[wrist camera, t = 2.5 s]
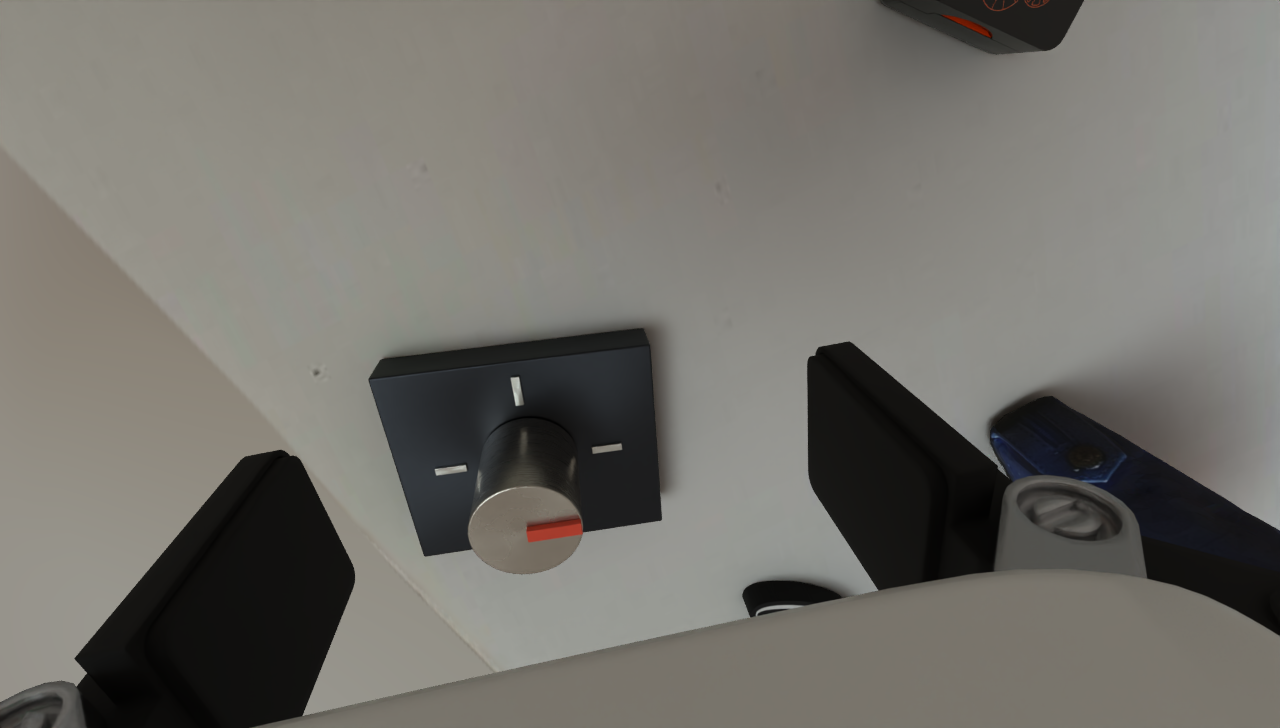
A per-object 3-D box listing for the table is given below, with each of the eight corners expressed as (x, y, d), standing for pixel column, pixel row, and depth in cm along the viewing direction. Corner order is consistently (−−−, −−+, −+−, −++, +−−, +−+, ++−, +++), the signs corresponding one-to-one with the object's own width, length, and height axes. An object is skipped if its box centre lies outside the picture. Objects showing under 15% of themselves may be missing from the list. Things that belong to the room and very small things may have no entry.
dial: (491, 502, 27) (478, 588, 23) (472, 424, 26) (455, 500, 21) (582, 489, 28) (589, 570, 23) (571, 411, 26) (576, 483, 21)
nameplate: (693, 639, 34) (842, 561, 33) (688, 618, 36) (830, 542, 35) (848, 821, 46) (961, 768, 45) (839, 800, 48) (949, 748, 47)
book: (965, 427, 32) (1481, 846, 14) (1051, 372, 31) (1710, 743, 14) (1042, 564, 38) (1471, 977, 21) (1115, 520, 38) (1630, 912, 20)
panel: (431, 529, 30) (423, 559, 28) (379, 359, 26) (366, 380, 24) (655, 496, 31) (662, 523, 29) (643, 327, 27) (651, 345, 25)
